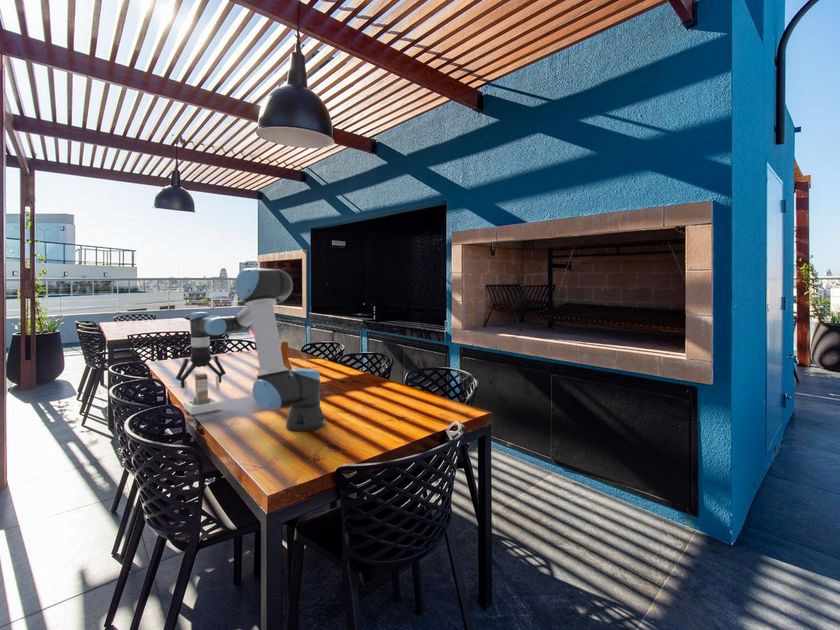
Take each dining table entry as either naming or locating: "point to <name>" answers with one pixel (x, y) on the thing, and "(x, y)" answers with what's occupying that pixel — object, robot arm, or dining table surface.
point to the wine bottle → (285, 355)
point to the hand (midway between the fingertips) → (201, 392)
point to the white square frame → (201, 405)
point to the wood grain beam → (201, 387)
